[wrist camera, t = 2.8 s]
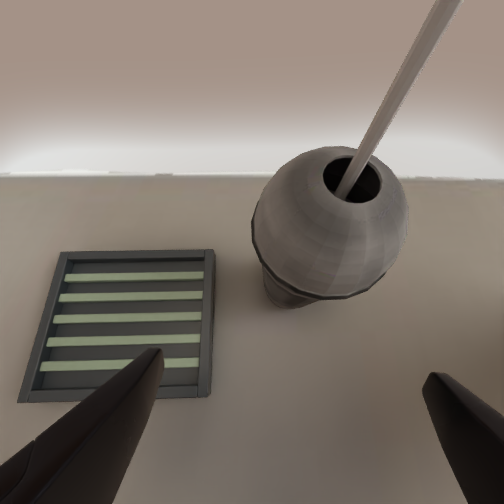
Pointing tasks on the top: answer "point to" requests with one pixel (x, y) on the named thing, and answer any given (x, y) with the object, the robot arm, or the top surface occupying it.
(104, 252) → the drying rack
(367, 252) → the beverage cup
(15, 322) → the top surface
